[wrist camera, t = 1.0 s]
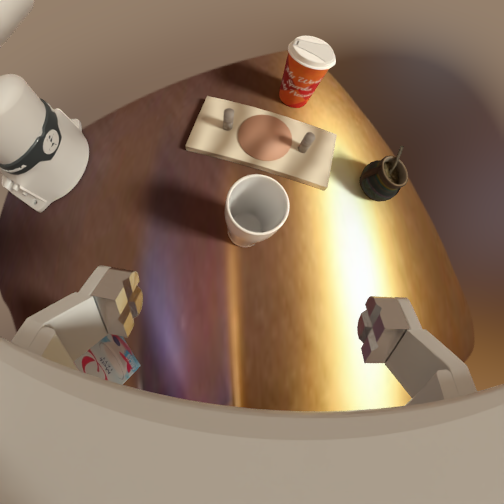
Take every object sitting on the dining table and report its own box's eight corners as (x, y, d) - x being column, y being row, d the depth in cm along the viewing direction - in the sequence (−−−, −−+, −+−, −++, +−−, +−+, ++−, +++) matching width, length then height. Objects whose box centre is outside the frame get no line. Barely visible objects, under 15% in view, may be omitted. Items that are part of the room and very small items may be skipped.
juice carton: (118, 329, 40) (41, 362, 18) (140, 365, 39) (82, 426, 18) (89, 346, 38) (7, 384, 17) (110, 381, 38) (43, 441, 17)
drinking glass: (217, 216, 43) (217, 182, 29) (258, 204, 44) (278, 166, 30) (230, 258, 43) (236, 244, 28) (272, 245, 44) (299, 225, 29)
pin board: (186, 150, 44) (182, 132, 38) (207, 100, 46) (207, 80, 40) (324, 190, 46) (337, 178, 40) (333, 138, 48) (346, 122, 42)
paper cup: (268, 104, 47) (285, 53, 33) (278, 78, 48) (295, 28, 34) (309, 118, 48) (335, 71, 34) (315, 90, 49) (340, 45, 35)
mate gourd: (355, 202, 47) (385, 183, 37) (353, 163, 48) (380, 138, 38) (389, 208, 47) (421, 192, 38) (386, 171, 48) (415, 149, 39)
